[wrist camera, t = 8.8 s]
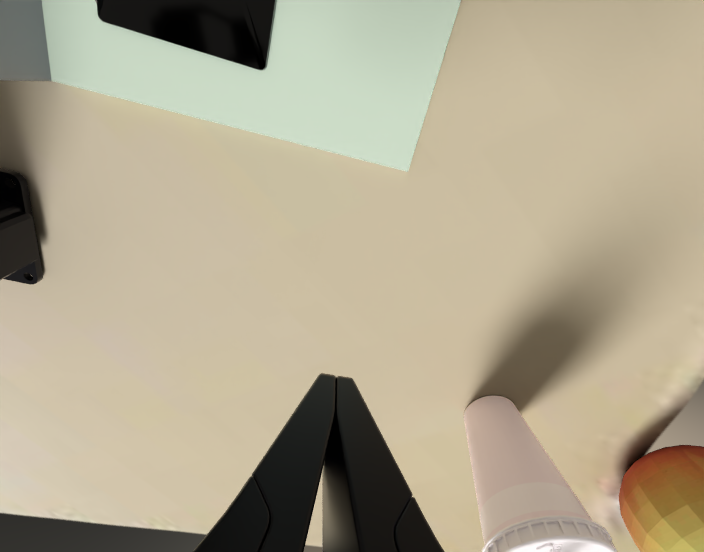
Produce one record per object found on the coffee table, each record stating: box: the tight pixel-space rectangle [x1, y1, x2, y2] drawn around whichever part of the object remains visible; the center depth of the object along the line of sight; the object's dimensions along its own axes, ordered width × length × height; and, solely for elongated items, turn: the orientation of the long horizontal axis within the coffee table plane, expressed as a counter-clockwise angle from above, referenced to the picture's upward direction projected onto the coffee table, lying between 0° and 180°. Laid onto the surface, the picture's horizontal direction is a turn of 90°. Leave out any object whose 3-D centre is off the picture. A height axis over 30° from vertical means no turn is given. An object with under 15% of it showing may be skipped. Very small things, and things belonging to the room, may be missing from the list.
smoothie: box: [464, 396, 617, 552], centre depth 20 cm, size 6×6×14 cm
